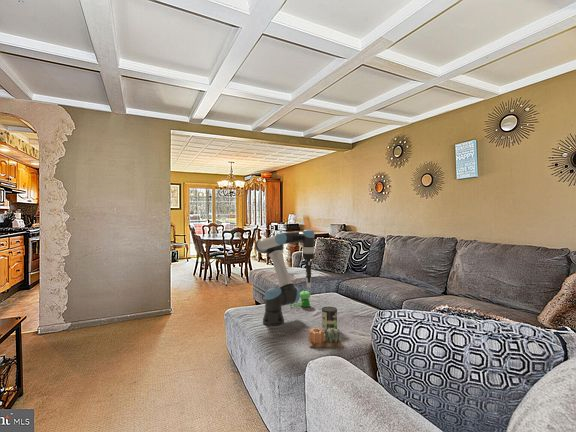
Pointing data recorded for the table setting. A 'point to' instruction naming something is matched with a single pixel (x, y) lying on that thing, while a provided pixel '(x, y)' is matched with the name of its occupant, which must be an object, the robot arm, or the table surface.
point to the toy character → (304, 299)
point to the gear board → (325, 344)
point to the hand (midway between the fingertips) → (308, 284)
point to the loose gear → (316, 335)
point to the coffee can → (329, 317)
